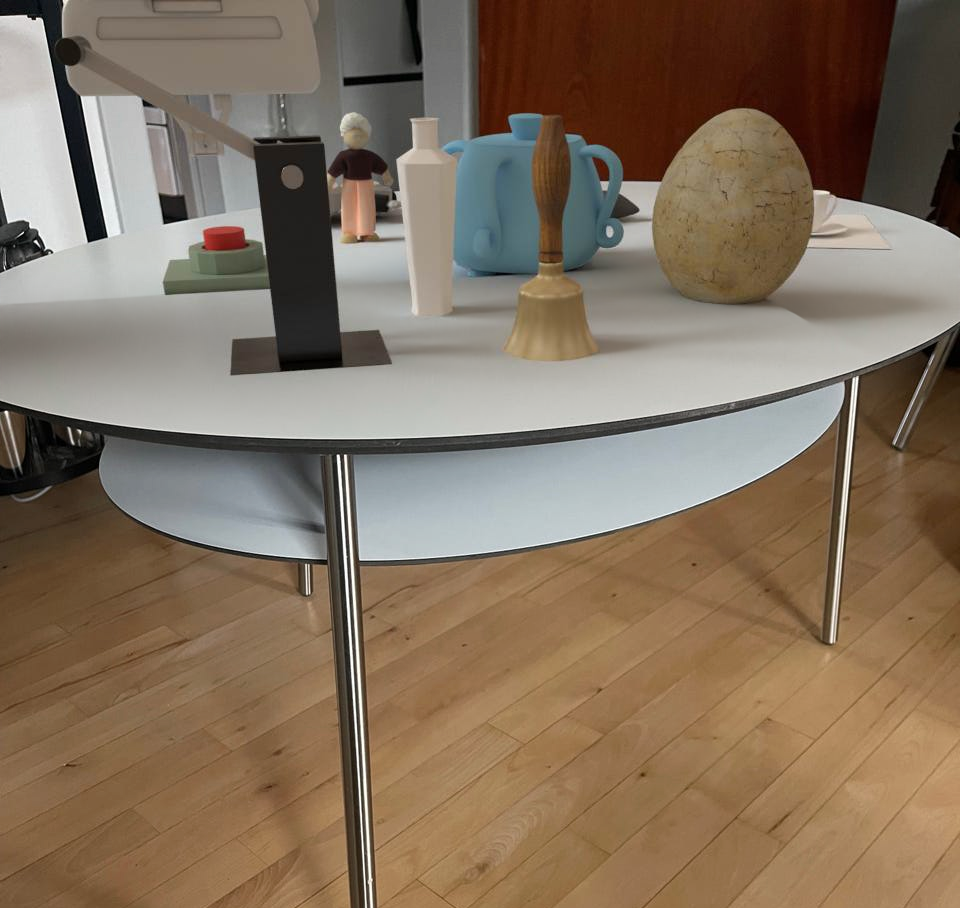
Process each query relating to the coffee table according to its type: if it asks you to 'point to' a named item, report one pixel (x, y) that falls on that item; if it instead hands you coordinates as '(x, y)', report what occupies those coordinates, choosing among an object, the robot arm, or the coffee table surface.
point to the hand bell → (551, 264)
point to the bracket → (300, 268)
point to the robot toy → (383, 199)
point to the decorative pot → (527, 202)
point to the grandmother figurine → (357, 180)
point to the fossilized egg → (733, 210)
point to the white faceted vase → (428, 218)
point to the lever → (150, 93)
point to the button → (224, 238)
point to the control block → (218, 270)
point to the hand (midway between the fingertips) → (207, 155)
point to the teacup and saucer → (841, 228)
